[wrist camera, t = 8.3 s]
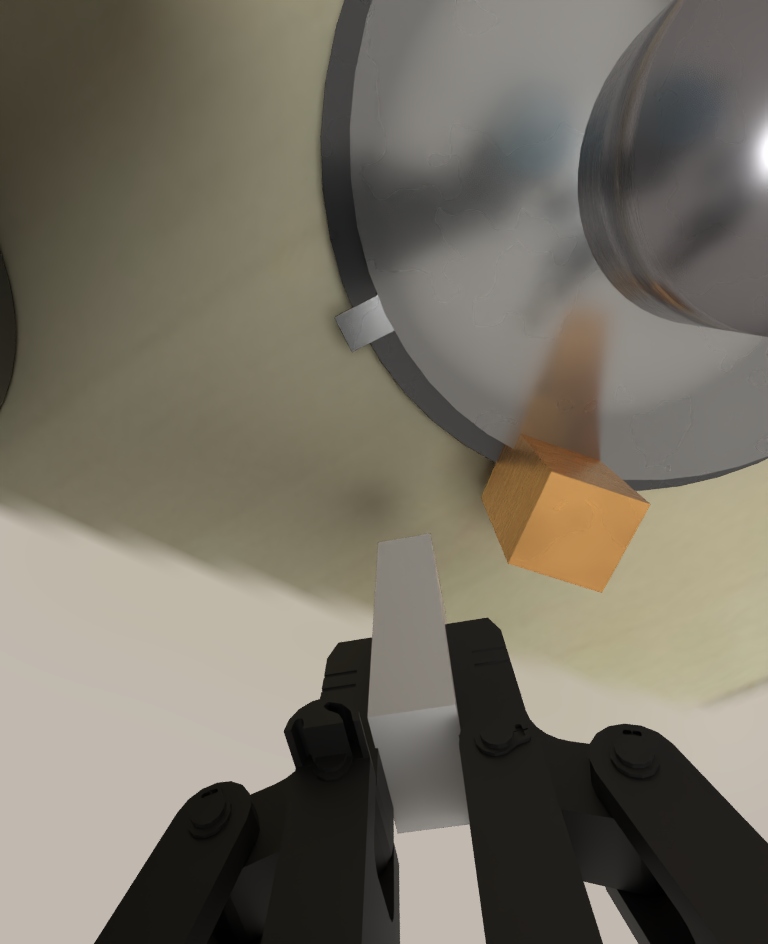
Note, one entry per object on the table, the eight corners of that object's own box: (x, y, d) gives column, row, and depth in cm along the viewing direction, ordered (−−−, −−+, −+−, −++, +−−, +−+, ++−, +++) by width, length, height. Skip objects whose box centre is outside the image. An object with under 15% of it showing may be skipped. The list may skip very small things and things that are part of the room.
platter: (262, 426, 20) (222, 474, 15) (504, -467, 12) (573, -916, 8) (750, 584, 22) (849, 669, 17) (1201, -108, 14) (1592, -293, 10)
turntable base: (252, 377, 20) (246, 382, 19) (472, -477, 13) (478, -534, 12) (768, 549, 23) (784, 560, 22) (1193, -106, 15) (1245, -131, 15)
